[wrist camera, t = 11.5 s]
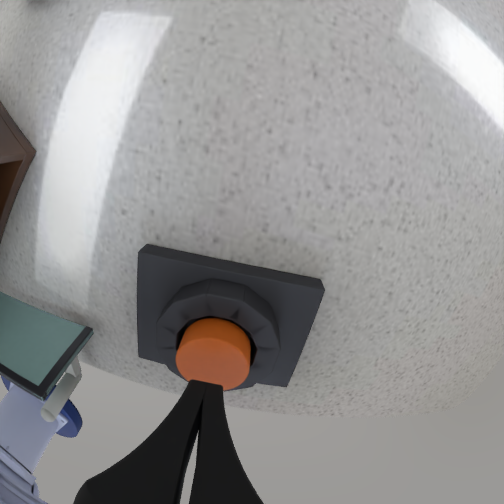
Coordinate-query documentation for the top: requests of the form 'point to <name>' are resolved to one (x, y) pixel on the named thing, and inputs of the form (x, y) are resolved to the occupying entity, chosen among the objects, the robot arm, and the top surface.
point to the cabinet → (11, 163)
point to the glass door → (40, 352)
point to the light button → (214, 353)
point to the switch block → (224, 309)
